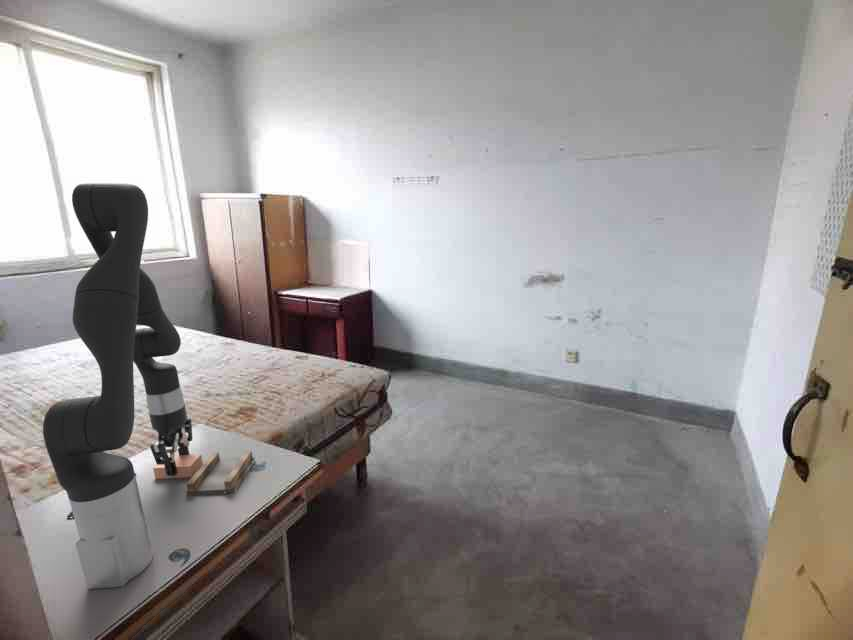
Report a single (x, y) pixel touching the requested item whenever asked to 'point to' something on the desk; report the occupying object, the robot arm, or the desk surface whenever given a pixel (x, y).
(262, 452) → the desk surface
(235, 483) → the holder
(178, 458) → the salmon pink block
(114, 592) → the desk surface
